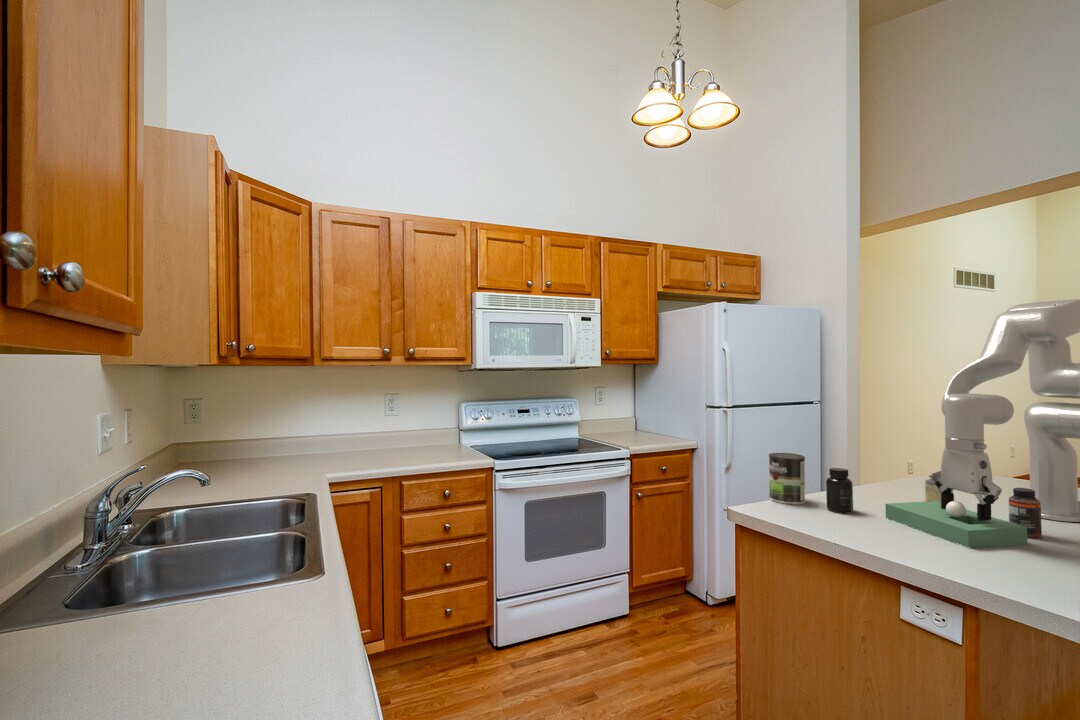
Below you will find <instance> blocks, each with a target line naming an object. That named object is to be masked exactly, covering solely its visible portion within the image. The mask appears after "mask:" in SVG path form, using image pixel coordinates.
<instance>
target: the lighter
mask: <svg viewBox="0 0 1080 720" xmlns="http://www.w3.org/2000/svg"><path fill="white" fill-rule="evenodd" d="M932 474H933V473H932ZM932 474H929V475H928V478H929V479H925V482H924V483H925V484H924V497H925V498H924V502H926V501H938V502H941V493H939V491H938V487H937V486H936V485H935V481H934V478H933V476H932ZM951 493H954V490H953V491H952V492H951Z"/></svg>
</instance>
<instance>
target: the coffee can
mask: <svg viewBox="0 0 1080 720" xmlns="http://www.w3.org/2000/svg"><path fill="white" fill-rule="evenodd" d="M768 458H769V465H768V466H769V467H768V469H769V498H768V499H769V500H770V501H772V502H775V503H778V504H783V505H784V504H785V505H802V504H805V502H806V497H805V496H806V495H805V493H806V492H805V491H806V490H805V483H806V481H805V477H806V476H805V473H806V472H805V468H806V466H805V463H806V462H805V461H806V460H805V459H806V456H804V455H802V454H798V453H790V452H774V453H773V452H771V453H769V454H768Z"/></svg>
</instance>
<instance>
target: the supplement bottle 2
mask: <svg viewBox="0 0 1080 720" xmlns="http://www.w3.org/2000/svg"><path fill="white" fill-rule="evenodd" d="M1012 489H1013V492H1012V493H1013V495H1011V496H1009V498H1008V522H1011V523H1015V524H1018V525H1022V526H1025V527H1027V539H1028V538H1031V539H1034V538H1035V539H1037V538H1040V537H1042V534H1043V533H1042V518H1041V503H1040V501H1039V500H1038V499H1036V498H1035V491H1034V490H1032V489H1030V488H1028V487H1027V488H1026V487H1025V488H1024V487H1014V488H1012Z"/></svg>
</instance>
